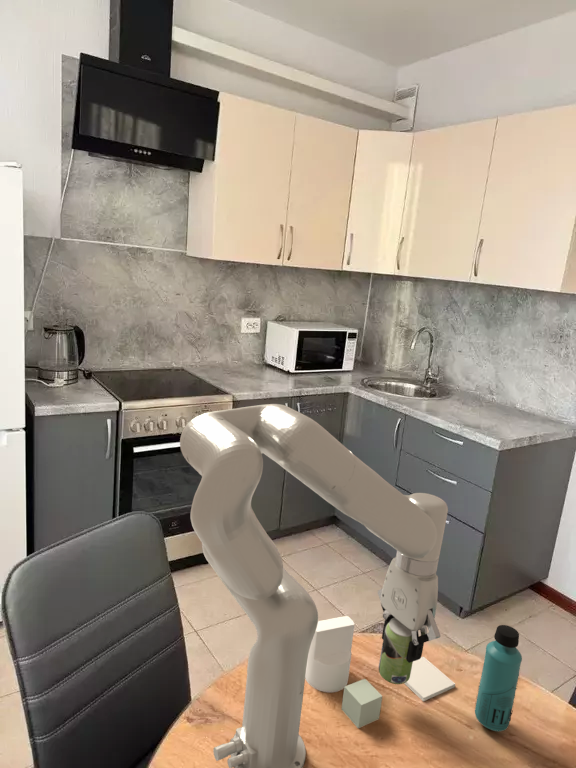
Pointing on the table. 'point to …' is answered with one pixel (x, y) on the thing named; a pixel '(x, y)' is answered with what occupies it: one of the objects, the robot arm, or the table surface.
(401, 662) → the beverage can
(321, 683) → the cylinder with rectangular tab
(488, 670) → the beverage bottle
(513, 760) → the table surface
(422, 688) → the coaster
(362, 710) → the sage block
